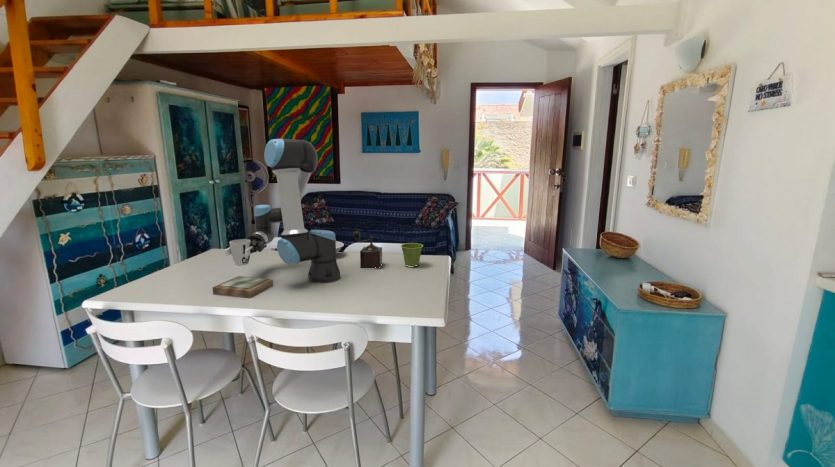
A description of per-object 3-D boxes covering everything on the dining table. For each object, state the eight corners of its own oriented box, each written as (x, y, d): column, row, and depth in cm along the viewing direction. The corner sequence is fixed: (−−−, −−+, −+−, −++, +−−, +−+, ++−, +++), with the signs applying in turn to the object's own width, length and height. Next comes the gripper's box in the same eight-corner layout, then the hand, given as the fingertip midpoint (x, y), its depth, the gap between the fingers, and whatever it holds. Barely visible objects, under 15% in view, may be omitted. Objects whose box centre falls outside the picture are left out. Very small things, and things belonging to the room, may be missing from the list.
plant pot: (398, 263, 214) (398, 243, 212) (419, 262, 217) (419, 242, 215) (403, 269, 203) (403, 248, 200) (425, 268, 206) (425, 247, 203)
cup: (244, 267, 165) (242, 243, 163) (227, 265, 166) (225, 242, 164) (256, 262, 172) (254, 239, 170) (239, 260, 174) (237, 238, 172)
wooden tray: (273, 285, 177) (272, 278, 176) (250, 298, 162) (249, 290, 161) (238, 282, 181) (237, 275, 180) (213, 294, 166) (212, 286, 165)
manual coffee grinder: (383, 263, 214) (382, 230, 211) (379, 269, 203) (379, 235, 200) (354, 262, 215) (354, 230, 212) (350, 268, 204) (349, 234, 201)
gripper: (279, 249, 187) (261, 262, 164) (235, 248, 186) (211, 261, 164) (278, 233, 185) (260, 244, 163) (234, 233, 185) (209, 244, 162)
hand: (235, 253), depth 163 cm, fingers closed on cup, 8 cm apart
